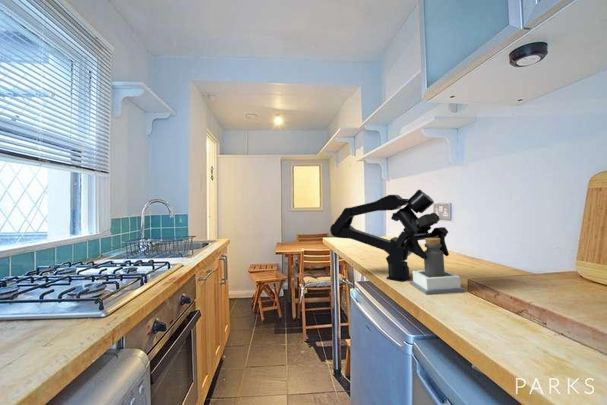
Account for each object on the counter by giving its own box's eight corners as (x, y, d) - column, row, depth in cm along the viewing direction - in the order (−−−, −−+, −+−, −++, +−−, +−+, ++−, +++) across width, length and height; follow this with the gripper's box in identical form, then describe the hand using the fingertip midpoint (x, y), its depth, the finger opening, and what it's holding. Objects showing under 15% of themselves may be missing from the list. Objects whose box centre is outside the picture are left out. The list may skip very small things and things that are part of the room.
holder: (410, 283, 99) (409, 270, 99) (444, 281, 99) (443, 268, 99) (426, 294, 87) (425, 279, 87) (464, 291, 87) (463, 277, 87)
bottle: (427, 286, 91) (424, 239, 91) (424, 281, 97) (421, 237, 97) (447, 287, 90) (444, 239, 90) (442, 281, 95) (440, 236, 96)
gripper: (399, 207, 93) (427, 244, 83) (442, 204, 100) (473, 238, 90) (385, 229, 101) (410, 266, 90) (426, 225, 108) (453, 259, 97)
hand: (437, 257), depth 92 cm, fingers open, 9 cm apart
